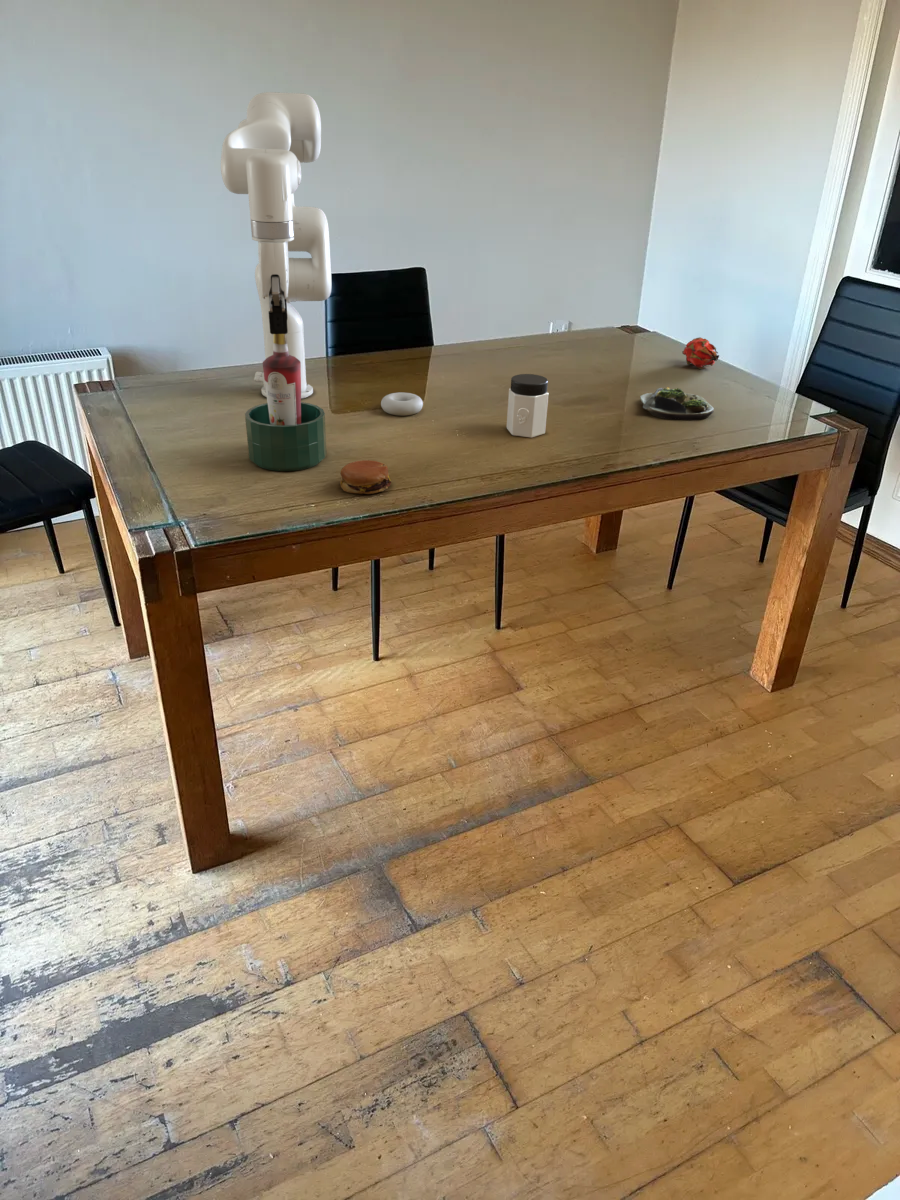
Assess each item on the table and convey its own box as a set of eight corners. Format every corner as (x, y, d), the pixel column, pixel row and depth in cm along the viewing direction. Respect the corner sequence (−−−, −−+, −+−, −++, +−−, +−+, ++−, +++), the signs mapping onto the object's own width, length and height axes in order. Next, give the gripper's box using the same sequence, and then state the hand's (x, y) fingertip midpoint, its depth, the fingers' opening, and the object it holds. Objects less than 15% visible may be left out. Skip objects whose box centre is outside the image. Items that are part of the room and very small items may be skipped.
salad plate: (627, 394, 224) (630, 376, 221) (696, 395, 225) (699, 378, 222) (644, 419, 207) (647, 400, 205) (718, 421, 208) (722, 402, 206)
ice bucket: (234, 464, 175) (229, 419, 170) (274, 440, 188) (271, 397, 183) (302, 477, 171) (300, 431, 166) (339, 451, 183) (337, 407, 178)
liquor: (264, 458, 176) (252, 317, 162) (276, 446, 183) (266, 308, 168) (299, 462, 175) (290, 319, 161) (310, 449, 182) (302, 311, 167)
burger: (331, 483, 168) (330, 461, 166) (373, 474, 173) (372, 452, 171) (357, 502, 162) (356, 478, 159) (399, 491, 166) (399, 468, 164)
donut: (376, 415, 204) (417, 419, 202) (375, 401, 202) (417, 404, 201) (387, 403, 213) (427, 406, 211) (386, 389, 211) (427, 392, 209)
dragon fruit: (684, 365, 256) (710, 382, 247) (670, 350, 250) (696, 367, 242) (704, 341, 253) (731, 357, 245) (690, 326, 248) (717, 342, 239)
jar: (501, 434, 195) (505, 381, 189) (510, 423, 202) (514, 371, 196) (541, 439, 193) (545, 386, 187) (548, 428, 200) (553, 376, 194)
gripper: (252, 222, 164) (260, 316, 173) (249, 238, 149) (257, 339, 158) (293, 223, 165) (298, 315, 174) (294, 238, 151) (299, 338, 159)
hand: (279, 326), depth 166 cm, fingers open, 9 cm apart
